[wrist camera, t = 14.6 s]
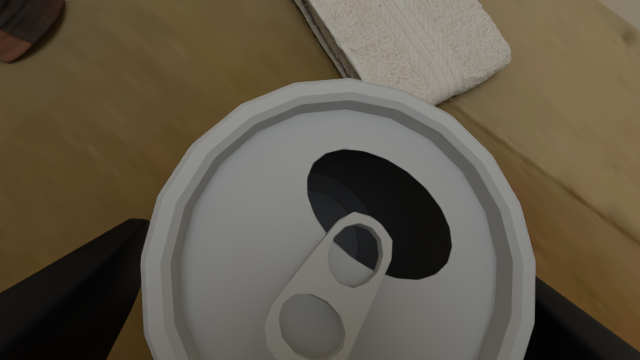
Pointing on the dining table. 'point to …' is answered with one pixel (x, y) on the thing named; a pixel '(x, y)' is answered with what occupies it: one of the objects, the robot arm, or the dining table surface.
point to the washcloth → (410, 43)
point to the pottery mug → (25, 24)
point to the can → (337, 236)
